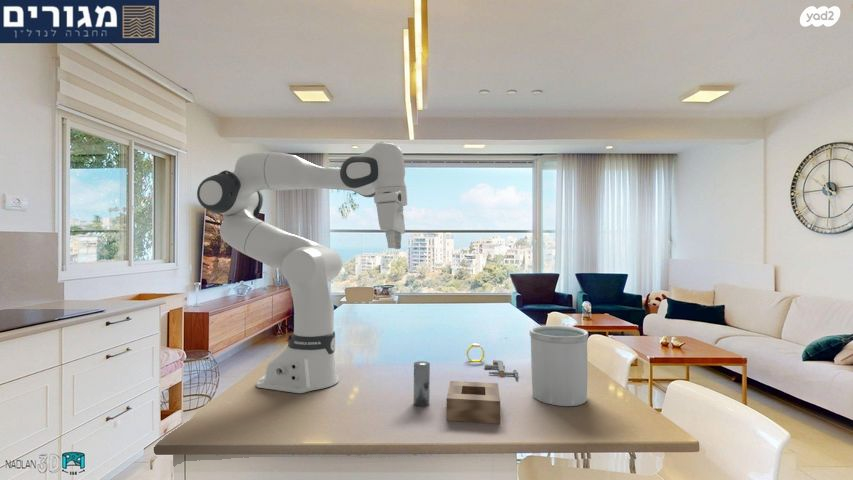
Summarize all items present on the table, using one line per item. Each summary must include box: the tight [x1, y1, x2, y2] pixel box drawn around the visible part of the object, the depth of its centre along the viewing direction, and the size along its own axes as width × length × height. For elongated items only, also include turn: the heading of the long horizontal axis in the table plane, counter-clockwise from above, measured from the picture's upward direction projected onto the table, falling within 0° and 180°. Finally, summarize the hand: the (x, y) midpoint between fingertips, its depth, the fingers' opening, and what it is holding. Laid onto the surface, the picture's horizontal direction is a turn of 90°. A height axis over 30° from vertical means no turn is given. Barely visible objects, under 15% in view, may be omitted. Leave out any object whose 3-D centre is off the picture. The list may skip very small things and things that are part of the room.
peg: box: [413, 360, 431, 408], centre depth 102 cm, size 4×4×10 cm
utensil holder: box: [529, 324, 589, 407], centre depth 108 cm, size 15×15×18 cm
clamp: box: [484, 359, 519, 381], centre depth 128 cm, size 15×2×10 cm
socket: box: [445, 380, 501, 425], centre depth 98 cm, size 12×12×5 cm
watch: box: [466, 342, 485, 363], centre depth 140 cm, size 6×3×6 cm, turn 93°
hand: (394, 248), depth 115 cm, fingers open, 8 cm apart
